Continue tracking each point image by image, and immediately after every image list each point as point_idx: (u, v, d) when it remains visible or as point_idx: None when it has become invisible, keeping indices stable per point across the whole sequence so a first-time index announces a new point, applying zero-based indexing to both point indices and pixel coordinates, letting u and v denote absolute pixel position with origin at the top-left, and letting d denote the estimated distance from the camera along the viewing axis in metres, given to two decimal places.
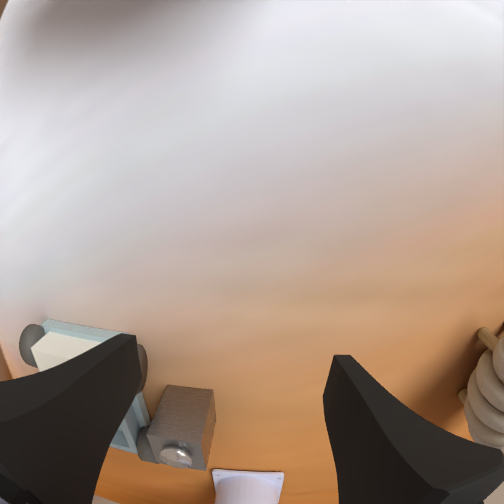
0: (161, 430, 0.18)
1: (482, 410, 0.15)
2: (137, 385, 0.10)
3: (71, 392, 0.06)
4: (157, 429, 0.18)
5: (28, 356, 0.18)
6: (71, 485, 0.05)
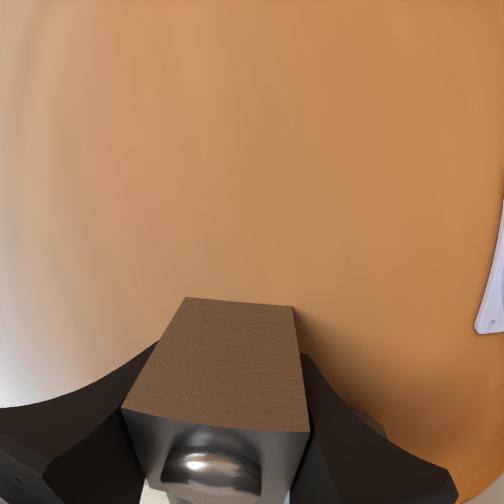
0: None
1: None
2: None
3: None
4: None
5: None
6: None
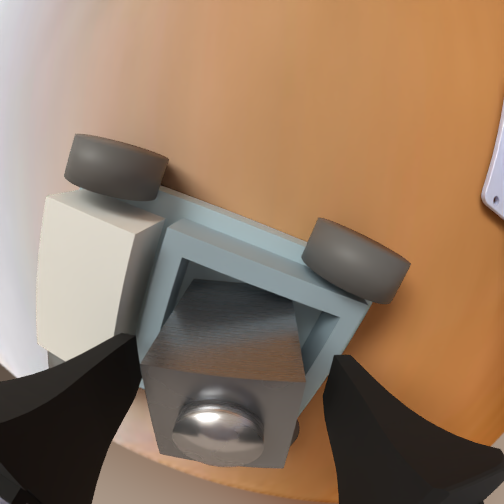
0: None
1: None
2: (137, 385, 0.10)
3: (71, 392, 0.06)
4: None
5: None
6: (71, 485, 0.05)
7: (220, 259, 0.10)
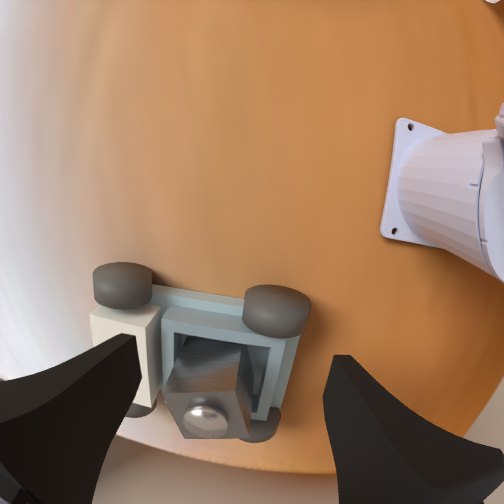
0: None
1: None
2: (137, 385, 0.10)
3: (71, 392, 0.06)
4: None
5: None
6: (71, 485, 0.05)
7: (193, 329, 0.17)
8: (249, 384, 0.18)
